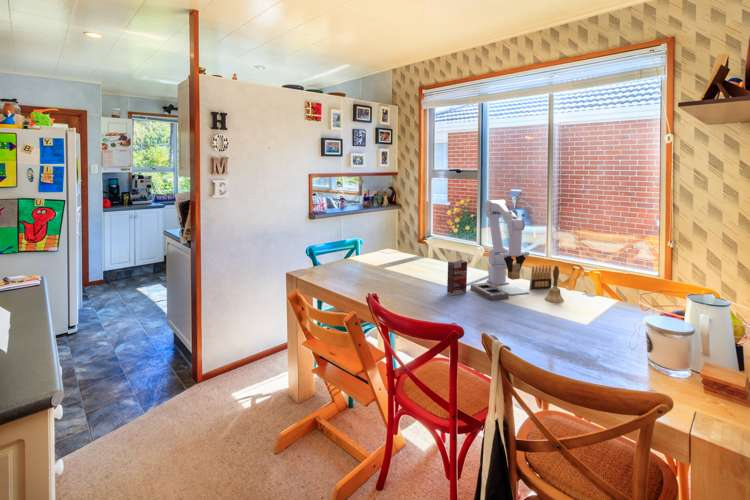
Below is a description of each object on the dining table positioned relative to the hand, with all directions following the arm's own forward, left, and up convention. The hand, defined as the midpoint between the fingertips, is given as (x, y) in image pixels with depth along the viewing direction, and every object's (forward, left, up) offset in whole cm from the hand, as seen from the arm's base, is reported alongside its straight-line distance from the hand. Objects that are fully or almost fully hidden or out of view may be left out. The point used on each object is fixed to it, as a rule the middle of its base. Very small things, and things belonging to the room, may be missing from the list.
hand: (513, 271), depth 204 cm
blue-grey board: (0, 0, -10) cm, 10 cm away
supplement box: (-7, -27, -11) cm, 30 cm away
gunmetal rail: (-1, -13, -10) cm, 16 cm away
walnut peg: (0, 0, -3) cm, 3 cm away
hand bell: (+17, +10, -11) cm, 22 cm away
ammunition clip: (-1, +16, -11) cm, 19 cm away
